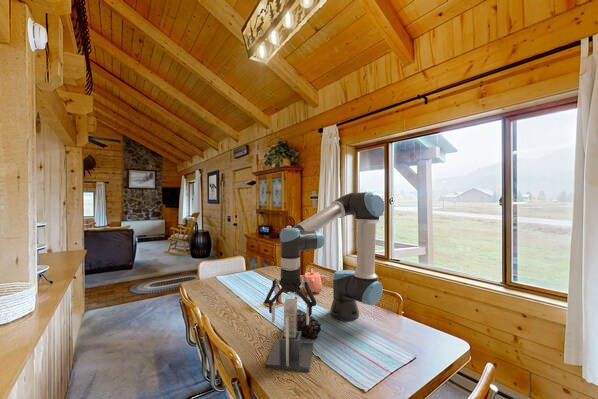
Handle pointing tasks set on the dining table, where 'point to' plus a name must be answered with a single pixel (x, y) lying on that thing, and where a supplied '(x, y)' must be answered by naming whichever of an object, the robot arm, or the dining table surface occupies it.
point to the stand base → (290, 353)
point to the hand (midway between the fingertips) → (290, 322)
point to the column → (291, 317)
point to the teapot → (314, 281)
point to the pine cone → (307, 326)
